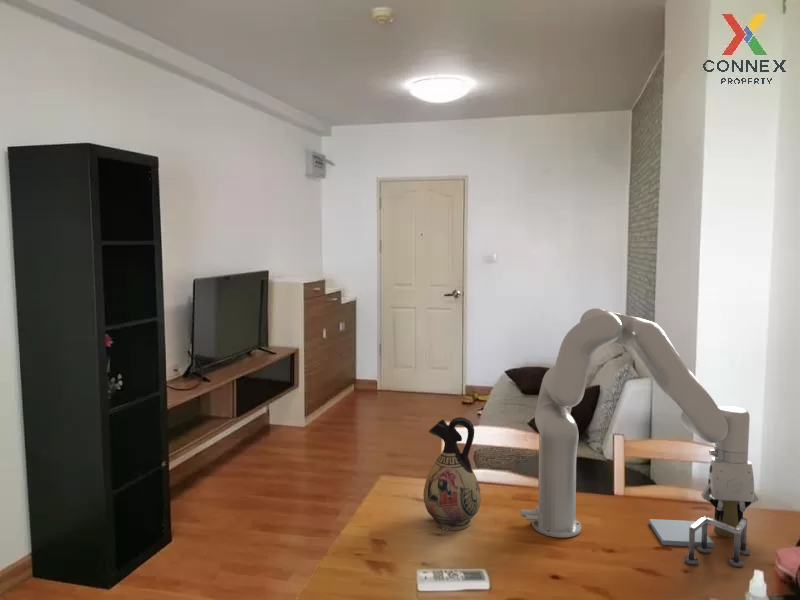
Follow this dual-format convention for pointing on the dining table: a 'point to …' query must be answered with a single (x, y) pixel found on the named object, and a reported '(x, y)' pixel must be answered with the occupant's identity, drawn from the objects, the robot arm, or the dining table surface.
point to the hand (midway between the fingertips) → (728, 523)
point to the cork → (728, 517)
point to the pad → (676, 532)
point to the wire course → (703, 548)
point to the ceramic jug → (452, 479)
